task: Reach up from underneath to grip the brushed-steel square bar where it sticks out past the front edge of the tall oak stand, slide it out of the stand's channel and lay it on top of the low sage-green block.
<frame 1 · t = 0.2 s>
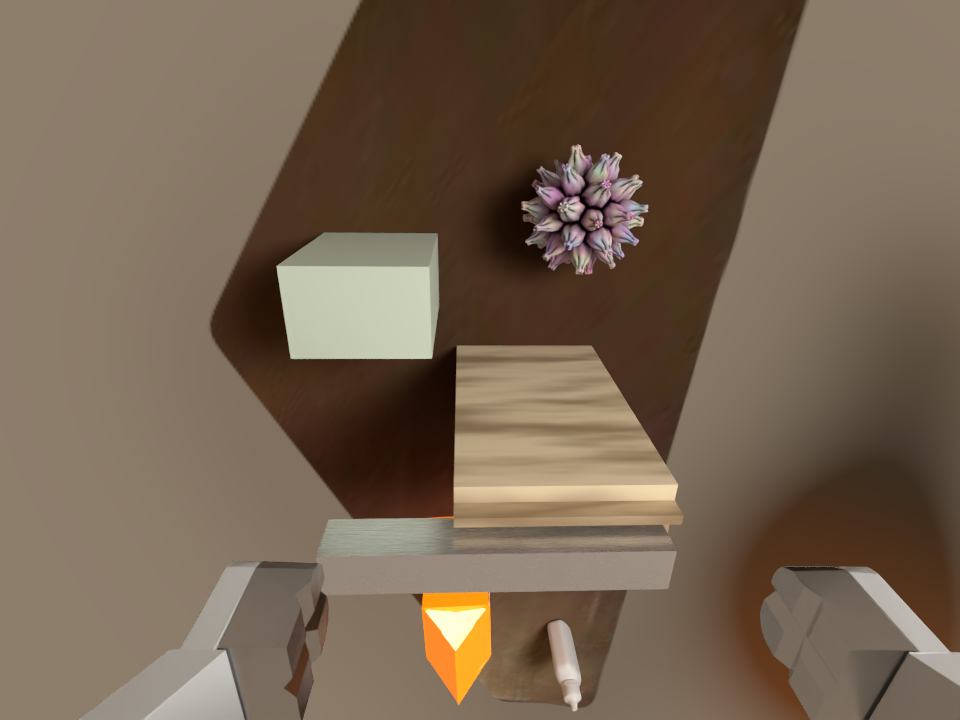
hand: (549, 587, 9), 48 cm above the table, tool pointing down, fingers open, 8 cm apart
sage block: (383, 270, 55), on the table
flower: (569, 205, 53), on the table
steel bar: (494, 535, 37), point 26 cm above the table, touching oak stand
eye dropper bottle: (559, 629, 80), on the table
oak stand: (522, 379, 61), on the table
orange juice: (458, 539, 71), on the table
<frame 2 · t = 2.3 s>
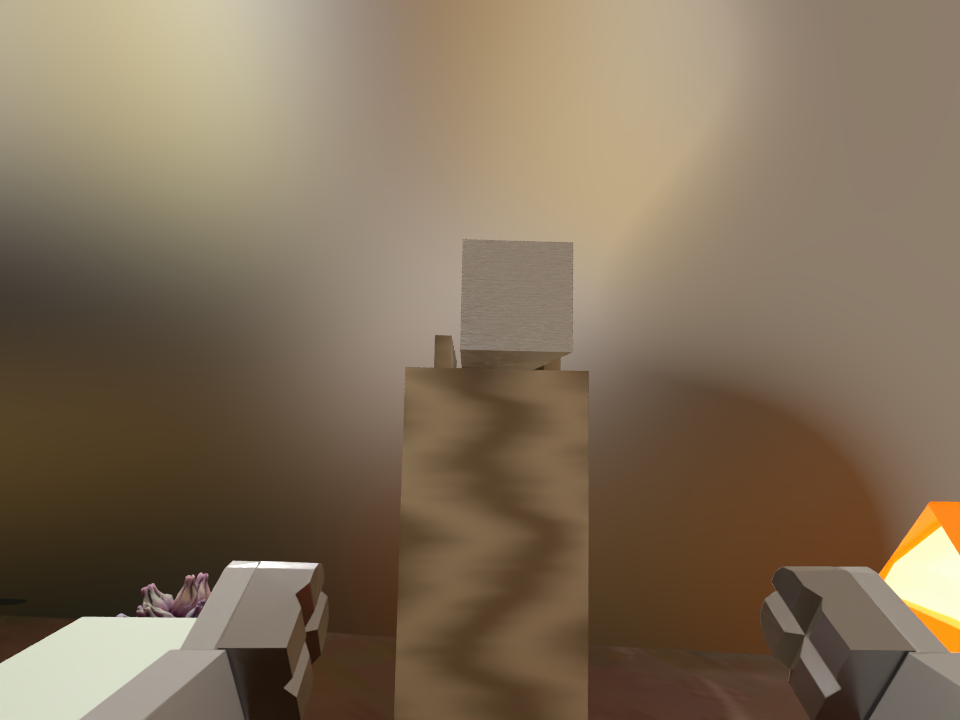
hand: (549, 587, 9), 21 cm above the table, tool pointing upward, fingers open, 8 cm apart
steel bar: (493, 372, 27), point 26 cm above the table, touching oak stand
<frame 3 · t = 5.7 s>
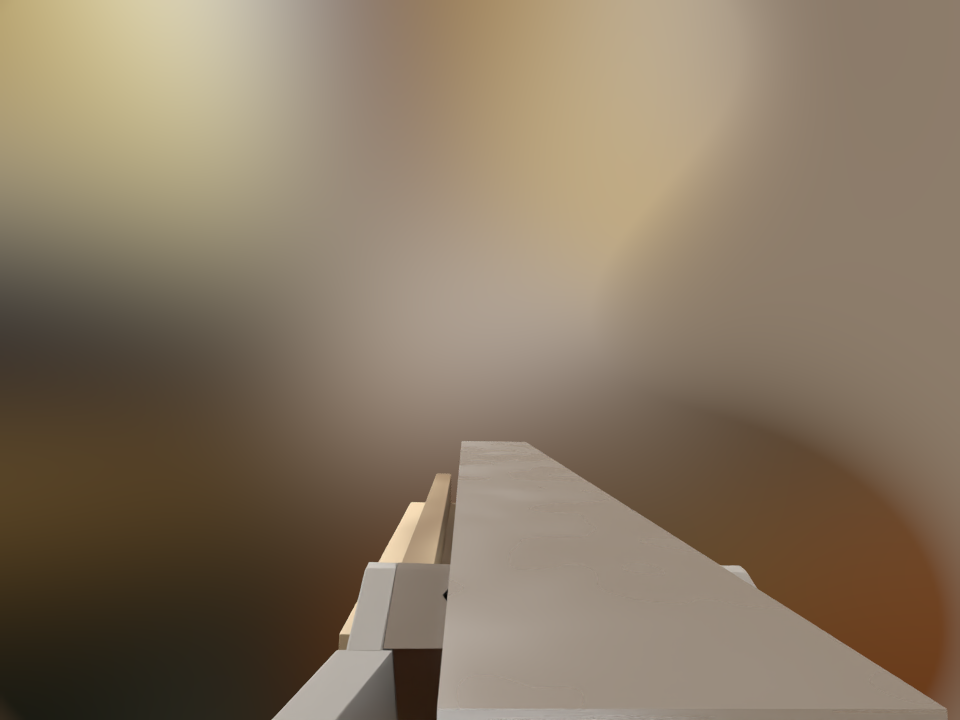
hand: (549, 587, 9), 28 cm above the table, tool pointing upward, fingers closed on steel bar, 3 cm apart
steel bar: (514, 589, 15), point 26 cm above the table, touching gripper, oak stand
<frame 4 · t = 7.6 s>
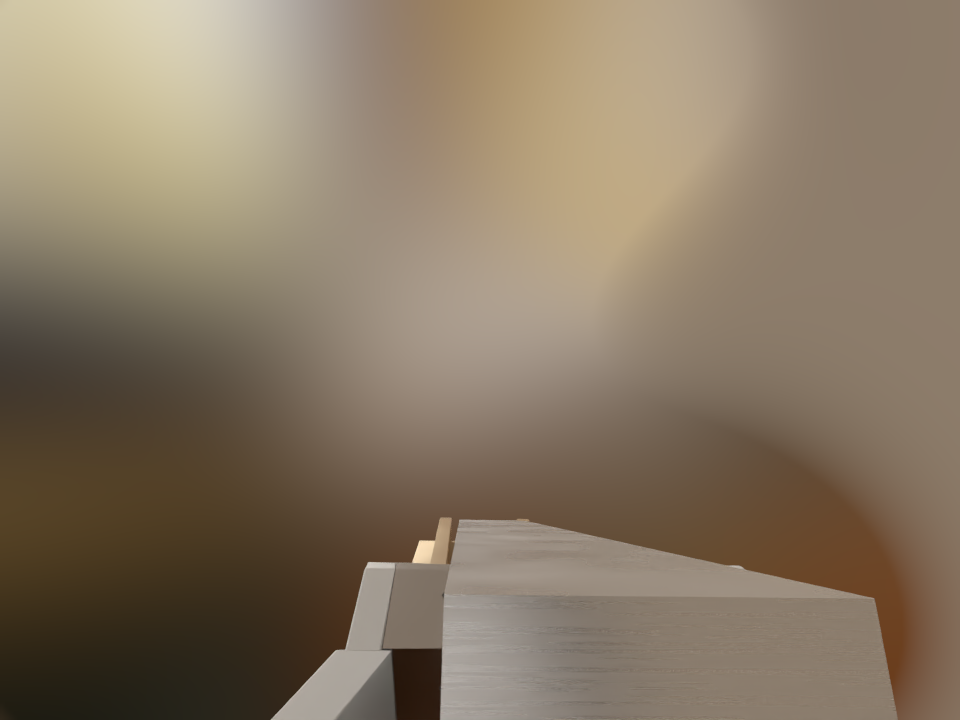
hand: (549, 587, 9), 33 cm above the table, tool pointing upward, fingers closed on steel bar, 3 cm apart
steel bar: (514, 657, 15), point 28 cm above the table, tilted 12°, touching gripper
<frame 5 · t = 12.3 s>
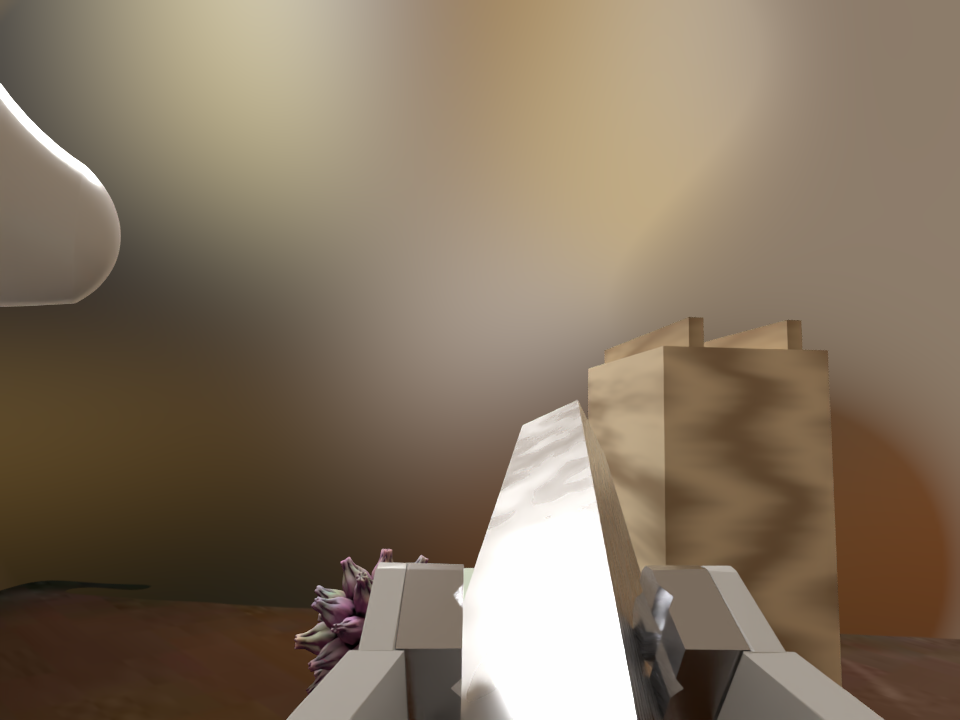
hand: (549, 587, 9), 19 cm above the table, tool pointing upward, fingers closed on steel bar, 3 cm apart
steel bar: (587, 576, 17), point 17 cm above the table, tilted 29°, touching gripper, sage block
when the fingers open (19 cm above the table, at t = 12.3 s): steel bar moves 2 cm and tips over, resting on sage block.
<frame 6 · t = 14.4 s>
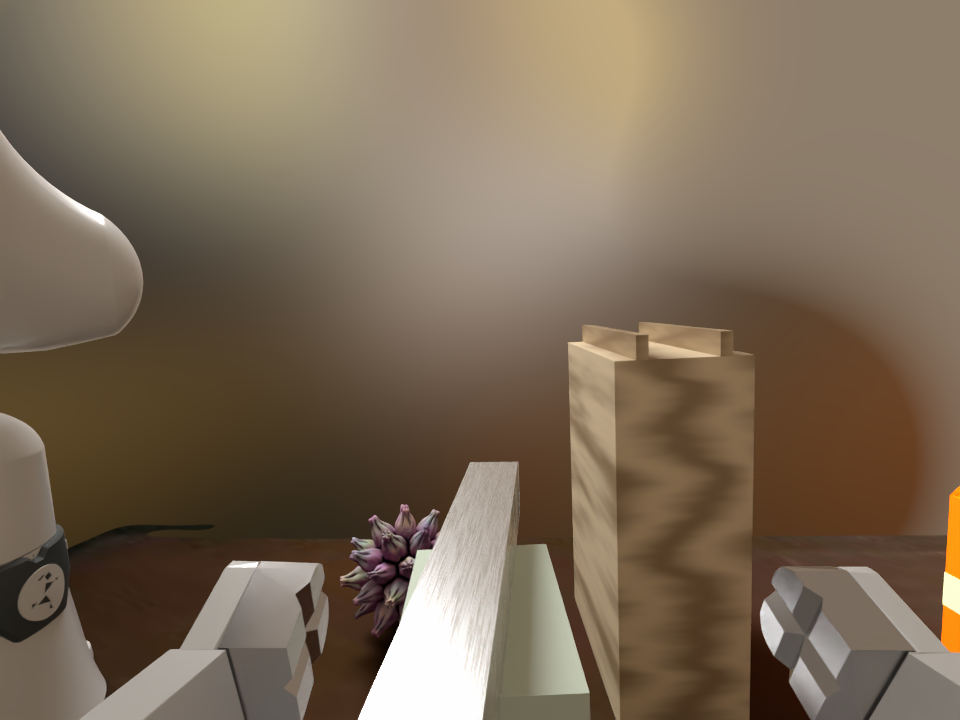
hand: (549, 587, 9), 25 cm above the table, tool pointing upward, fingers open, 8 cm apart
flower: (412, 633, 47), on the table
steel bar: (508, 573, 25), point 17 cm above the table, tilted 90°, touching sage block
oak stand: (645, 650, 43), on the table
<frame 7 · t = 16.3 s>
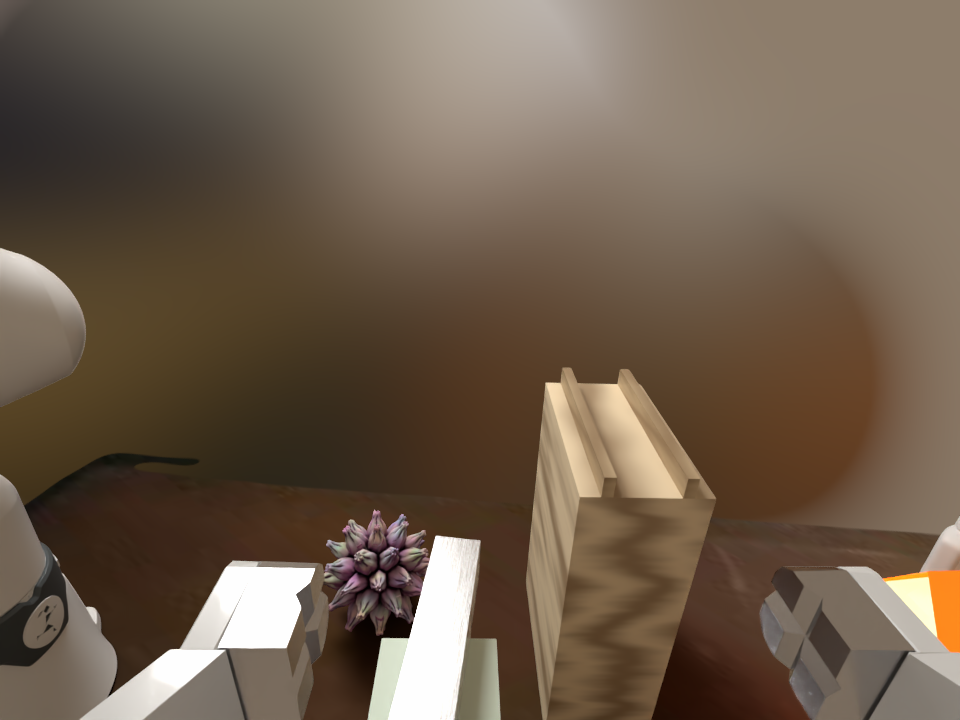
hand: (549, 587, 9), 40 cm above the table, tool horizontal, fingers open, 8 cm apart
flower: (381, 612, 54), on the table
steel bar: (456, 719, 29), point 17 cm above the table, tilted 90°, touching sage block
eye dropper bottle: (935, 586, 59), on the table
oak stand: (578, 647, 51), on the table
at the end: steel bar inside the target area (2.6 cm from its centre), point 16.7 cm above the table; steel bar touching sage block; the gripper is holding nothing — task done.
